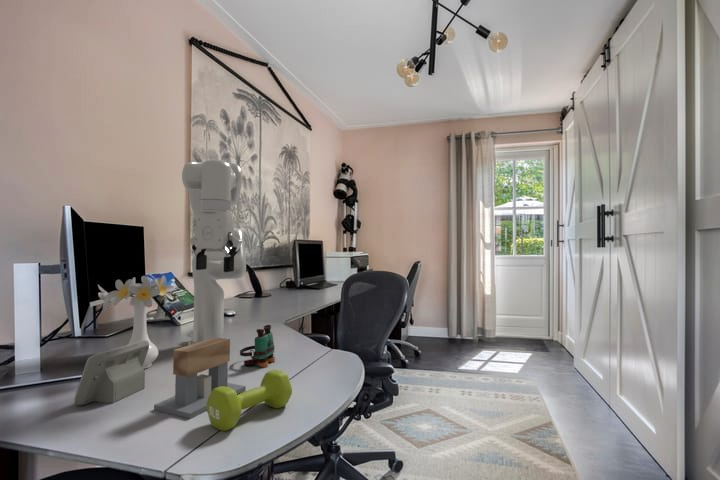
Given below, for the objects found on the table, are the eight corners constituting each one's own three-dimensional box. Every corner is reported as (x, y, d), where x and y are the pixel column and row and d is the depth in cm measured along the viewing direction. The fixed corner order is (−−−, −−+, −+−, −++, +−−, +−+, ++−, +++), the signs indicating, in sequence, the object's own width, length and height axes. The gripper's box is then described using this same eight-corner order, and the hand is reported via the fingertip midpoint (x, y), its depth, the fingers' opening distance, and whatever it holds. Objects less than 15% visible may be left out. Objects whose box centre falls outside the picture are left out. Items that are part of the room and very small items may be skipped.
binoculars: (247, 325, 115) (278, 323, 113) (249, 360, 115) (280, 359, 113) (231, 331, 106) (264, 329, 104) (234, 369, 106) (267, 368, 104)
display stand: (153, 409, 78) (154, 375, 78) (212, 384, 92) (212, 355, 93) (190, 418, 74) (191, 382, 74) (245, 390, 89) (246, 360, 89)
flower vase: (93, 368, 104) (95, 276, 104) (167, 356, 115) (169, 273, 116) (98, 381, 94) (100, 279, 94) (179, 367, 105) (180, 276, 106)
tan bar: (173, 374, 79) (173, 349, 79) (216, 358, 90) (216, 337, 90) (187, 376, 77) (187, 352, 77) (229, 360, 88) (230, 339, 88)
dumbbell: (225, 438, 67) (226, 396, 67) (201, 425, 72) (202, 386, 72) (295, 407, 80) (296, 373, 80) (271, 398, 85) (271, 365, 85)
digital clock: (135, 380, 95) (136, 337, 95) (161, 385, 91) (161, 341, 92) (62, 404, 80) (64, 353, 80) (90, 412, 77) (91, 359, 77)
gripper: (181, 206, 103) (179, 269, 103) (231, 206, 96) (229, 273, 96) (202, 208, 110) (201, 267, 110) (250, 208, 103) (249, 271, 103)
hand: (214, 270), depth 103 cm, fingers open, 9 cm apart
